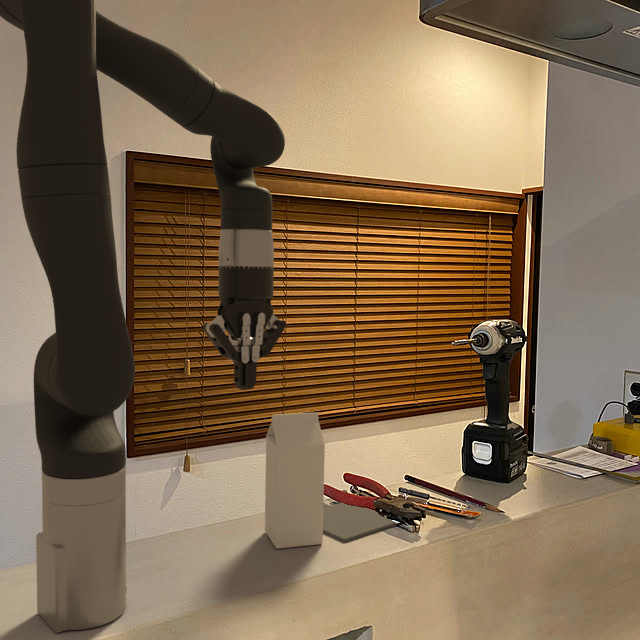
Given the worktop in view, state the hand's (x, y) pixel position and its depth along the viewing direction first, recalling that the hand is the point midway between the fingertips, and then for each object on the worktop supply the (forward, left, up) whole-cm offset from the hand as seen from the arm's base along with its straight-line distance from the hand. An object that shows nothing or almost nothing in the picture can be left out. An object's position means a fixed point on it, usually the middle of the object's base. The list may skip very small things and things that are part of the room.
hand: (245, 388), depth 99 cm
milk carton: (+9, 0, -24) cm, 26 cm away
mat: (+23, 0, -24) cm, 33 cm away
